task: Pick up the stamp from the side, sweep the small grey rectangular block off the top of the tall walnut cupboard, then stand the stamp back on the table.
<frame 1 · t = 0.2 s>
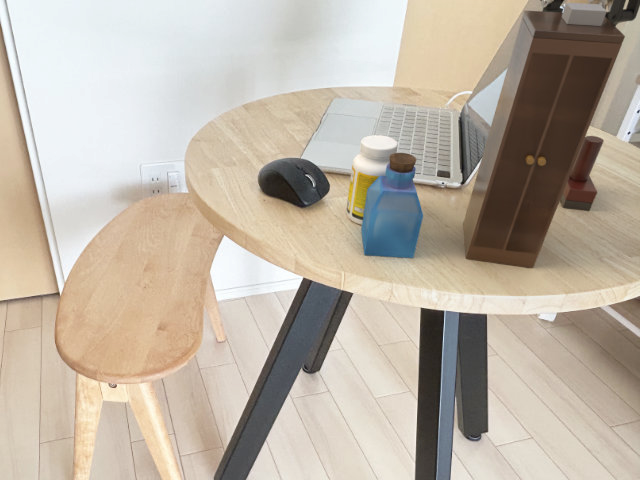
hand: (566, 49, 69), 22 cm above the table, tool pointing down, fingers open, 8 cm apart
small grey rectangular block: (580, 21, 58), point 27 cm above the table, touching cupboard
cupboard: (496, 244, 75), on the table
perfume bottle: (386, 244, 75), on the table
pill bottle: (367, 217, 81), on the table
stamp: (570, 196, 85), on the table
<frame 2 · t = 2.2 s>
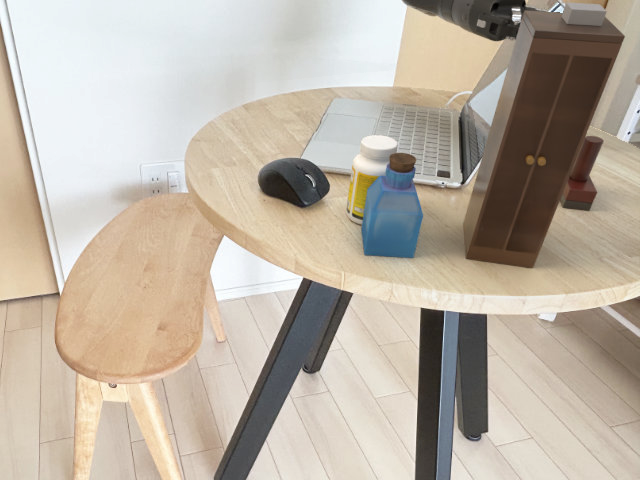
hand: (563, 35, 81), 20 cm above the table, tool horizontal, fingers open, 8 cm apart
nothing on the table moved.
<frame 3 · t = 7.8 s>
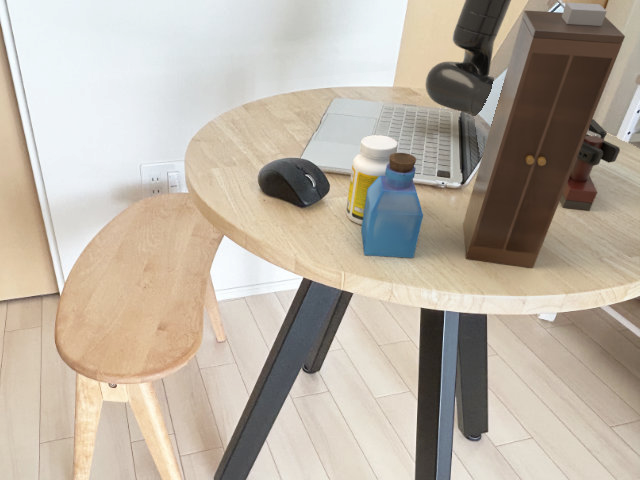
hand: (607, 157, 79), 8 cm above the table, tool horizontal, fingers closed on stamp, 2 cm apart
stamp: (570, 196, 85), on the table, touching gripper
everything else where it was.
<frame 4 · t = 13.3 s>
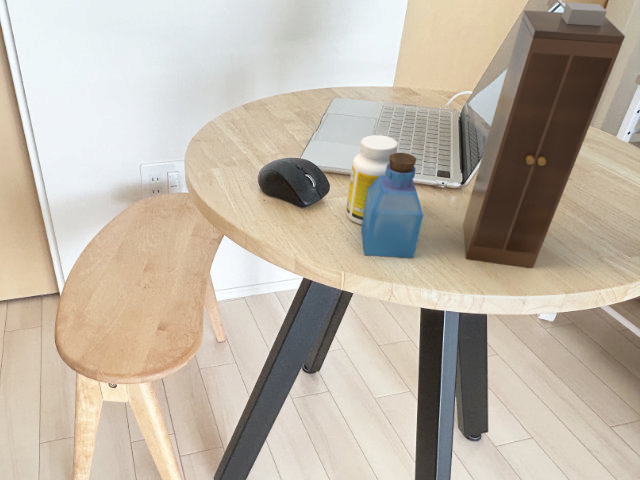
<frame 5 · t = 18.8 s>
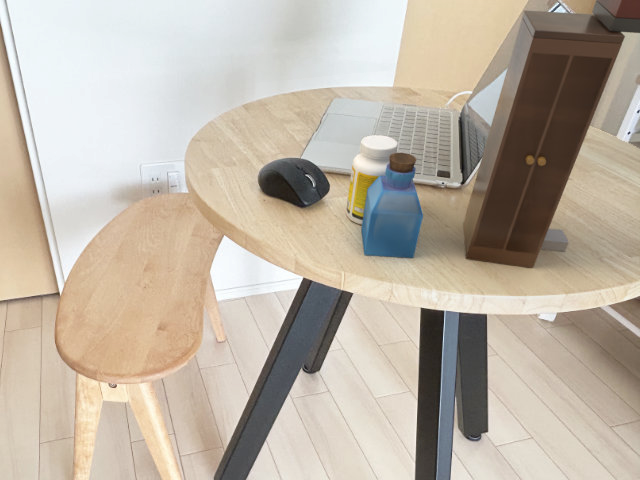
small grey rectangular block: (552, 234, 74), point 1 cm above the table, tilted 180°
stamp: (619, 22, 58), point 27 cm above the table, touching gripper
everything else where it was.
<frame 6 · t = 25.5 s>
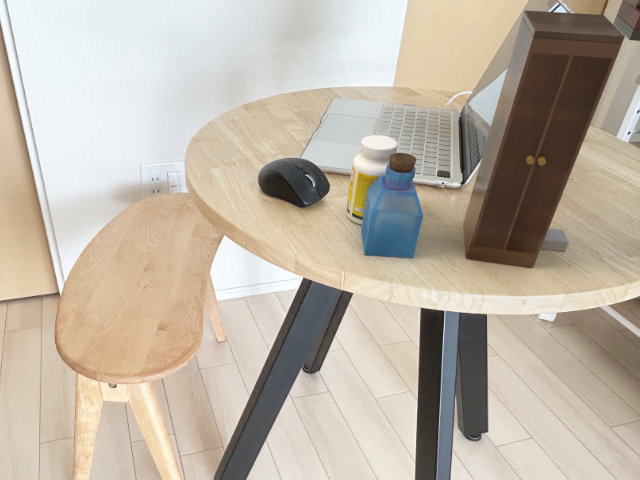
stamp: (636, 32, 71), point 23 cm above the table, touching gripper
everything else where it was.
when the fingers open (8 cm above the table, at t = 31.6 s): stamp stays where it is, on the table.
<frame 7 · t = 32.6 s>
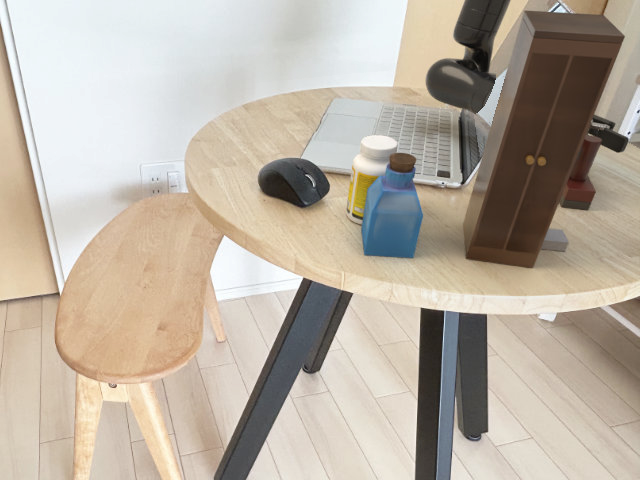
hand: (601, 150, 79), 8 cm above the table, tool horizontal, fingers open, 8 cm apart
stamp: (569, 195, 85), on the table
everything else where it was.
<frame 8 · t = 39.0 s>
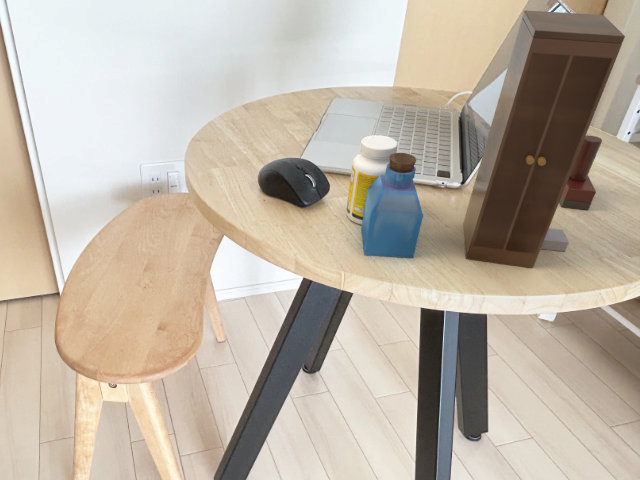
nothing on the table moved.
at the end: small grey rectangular block point 1.4 cm above the table; stamp tilted 0°; the gripper is holding nothing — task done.
